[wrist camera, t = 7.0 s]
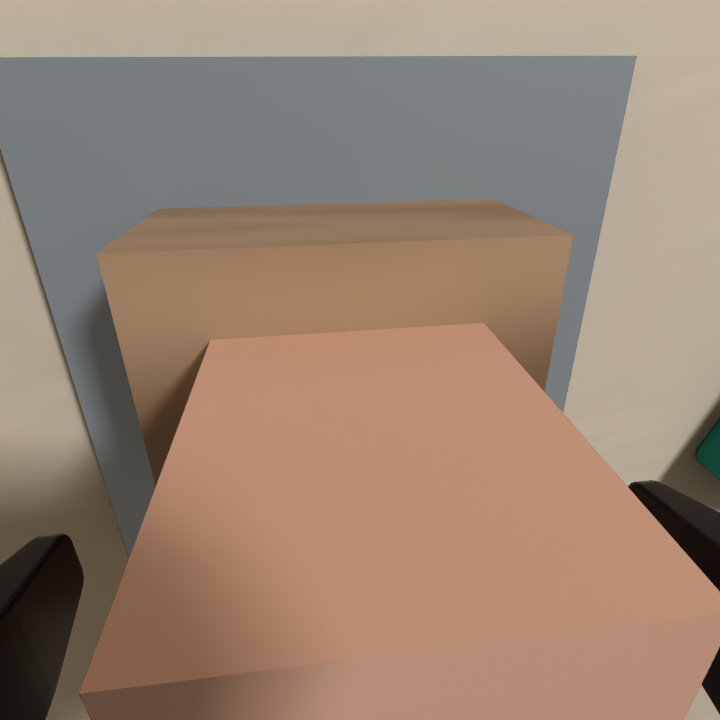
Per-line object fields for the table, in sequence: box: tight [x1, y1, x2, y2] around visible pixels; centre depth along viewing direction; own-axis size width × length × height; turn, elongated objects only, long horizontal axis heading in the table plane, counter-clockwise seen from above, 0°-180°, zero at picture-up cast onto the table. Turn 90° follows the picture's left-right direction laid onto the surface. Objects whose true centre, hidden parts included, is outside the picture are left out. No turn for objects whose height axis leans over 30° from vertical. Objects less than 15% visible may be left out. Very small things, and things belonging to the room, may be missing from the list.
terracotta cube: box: [79, 323, 720, 720], centre depth 7 cm, size 5×5×6 cm
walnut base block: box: [96, 198, 573, 486], centre depth 12 cm, size 8×8×4 cm
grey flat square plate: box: [0, 56, 636, 558], centre depth 14 cm, size 14×14×1 cm
